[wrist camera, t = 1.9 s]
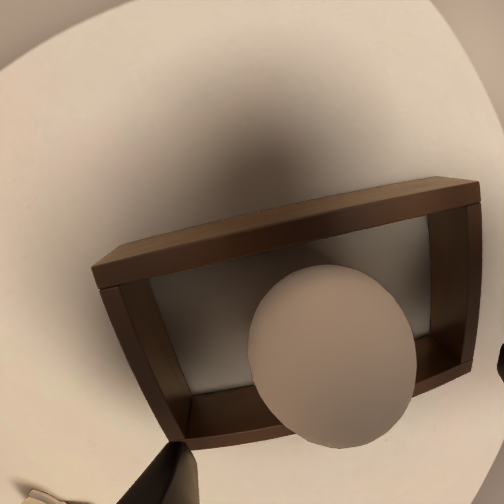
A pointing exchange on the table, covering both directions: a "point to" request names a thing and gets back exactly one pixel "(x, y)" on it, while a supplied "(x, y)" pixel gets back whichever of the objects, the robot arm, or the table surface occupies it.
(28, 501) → the cup
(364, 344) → the egg
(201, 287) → the table surface
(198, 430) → the holder
